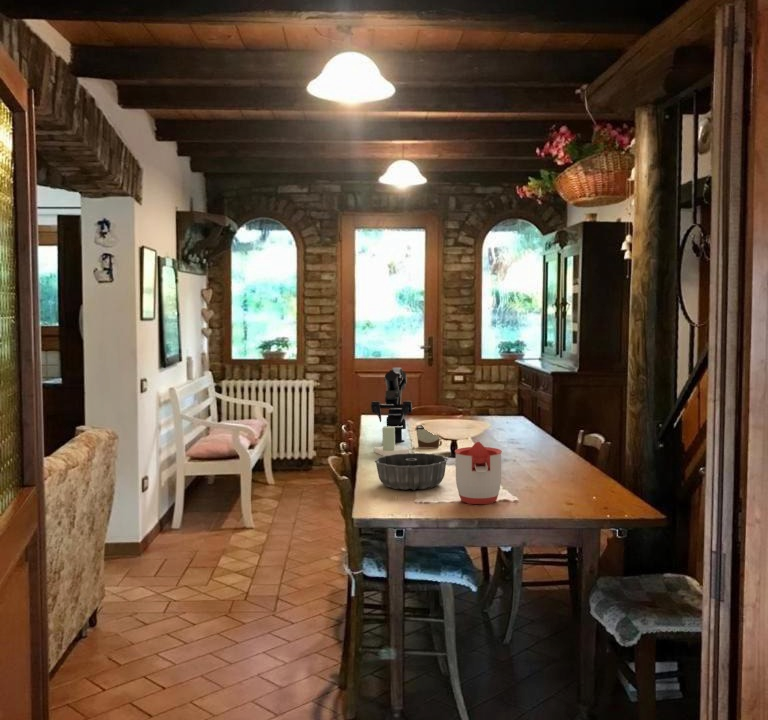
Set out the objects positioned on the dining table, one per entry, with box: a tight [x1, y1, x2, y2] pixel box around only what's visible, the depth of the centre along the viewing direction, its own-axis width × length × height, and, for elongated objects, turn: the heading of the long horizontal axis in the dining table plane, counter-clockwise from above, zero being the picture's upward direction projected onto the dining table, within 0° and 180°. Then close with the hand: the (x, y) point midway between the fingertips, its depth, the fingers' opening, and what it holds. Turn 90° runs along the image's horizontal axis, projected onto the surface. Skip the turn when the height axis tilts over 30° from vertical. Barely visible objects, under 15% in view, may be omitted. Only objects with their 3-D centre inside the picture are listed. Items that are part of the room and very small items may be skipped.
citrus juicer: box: [454, 441, 502, 505], centre depth 259 cm, size 16×17×20 cm
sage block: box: [382, 425, 396, 451], centre depth 348 cm, size 5×5×10 cm
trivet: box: [373, 444, 410, 457], centre depth 351 cm, size 12×12×2 cm
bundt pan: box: [374, 452, 448, 491], centre depth 285 cm, size 26×26×10 cm
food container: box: [414, 424, 441, 447], centre depth 366 cm, size 12×6×10 cm, turn 84°
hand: (390, 421), depth 356 cm, fingers open, 9 cm apart
